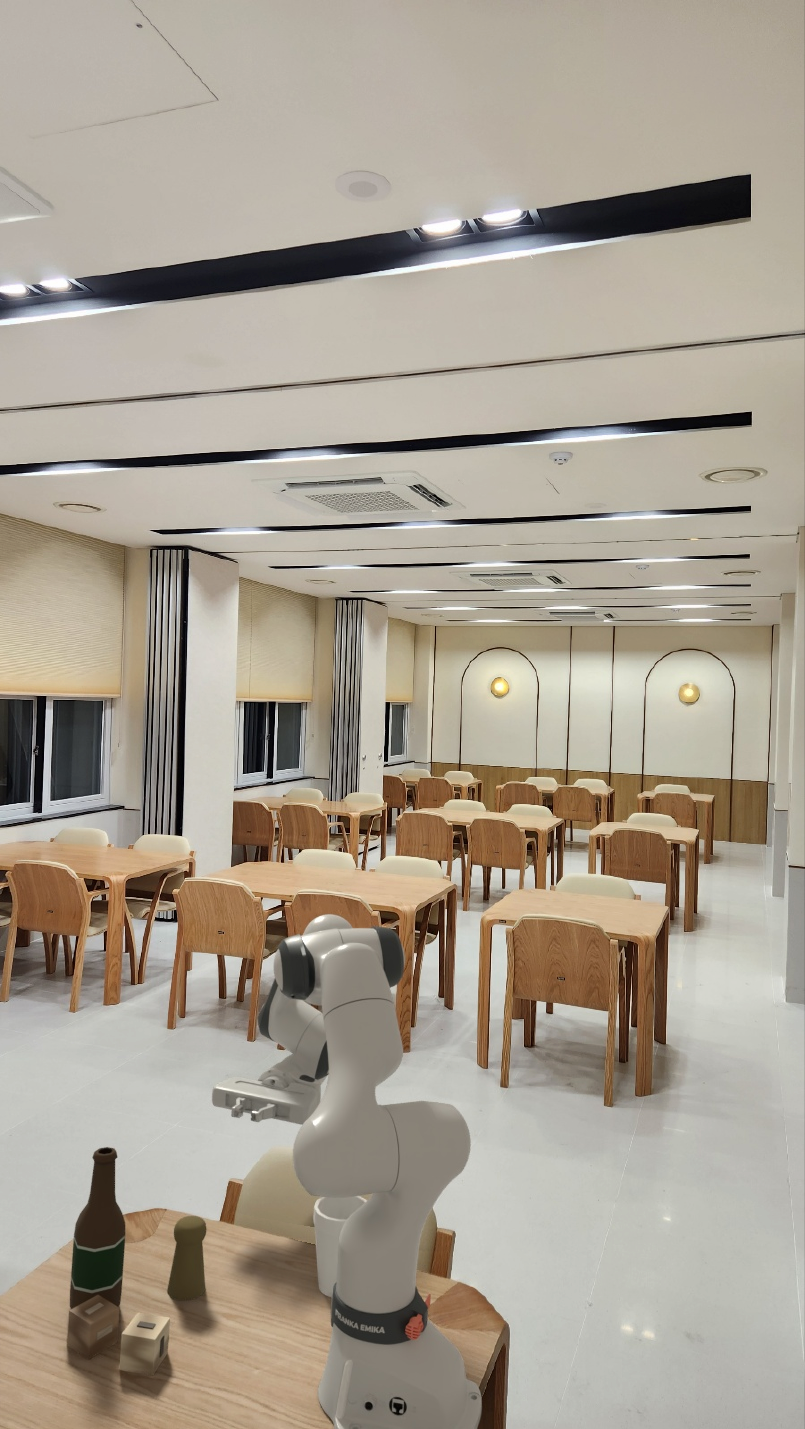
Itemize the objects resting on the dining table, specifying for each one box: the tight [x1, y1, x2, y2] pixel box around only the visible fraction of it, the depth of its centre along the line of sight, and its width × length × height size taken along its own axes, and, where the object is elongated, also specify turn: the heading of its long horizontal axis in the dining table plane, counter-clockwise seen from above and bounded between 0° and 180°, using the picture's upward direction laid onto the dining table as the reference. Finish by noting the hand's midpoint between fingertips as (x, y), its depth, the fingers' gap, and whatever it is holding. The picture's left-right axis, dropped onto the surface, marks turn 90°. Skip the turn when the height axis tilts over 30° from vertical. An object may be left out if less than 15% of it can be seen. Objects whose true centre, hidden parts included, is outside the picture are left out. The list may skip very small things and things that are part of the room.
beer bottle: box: [69, 1146, 126, 1310], centre depth 141 cm, size 8×8×24 cm
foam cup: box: [312, 1196, 368, 1298], centre depth 149 cm, size 10×9×13 cm
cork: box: [166, 1215, 208, 1301], centre depth 146 cm, size 6×6×11 cm
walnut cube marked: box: [66, 1295, 120, 1361], centre depth 132 cm, size 5×5×5 cm
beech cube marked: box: [118, 1312, 171, 1377], centre depth 129 cm, size 5×5×5 cm
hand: (244, 1115), depth 162 cm, fingers open, 3 cm apart
